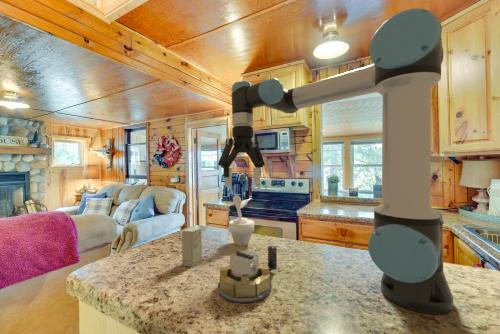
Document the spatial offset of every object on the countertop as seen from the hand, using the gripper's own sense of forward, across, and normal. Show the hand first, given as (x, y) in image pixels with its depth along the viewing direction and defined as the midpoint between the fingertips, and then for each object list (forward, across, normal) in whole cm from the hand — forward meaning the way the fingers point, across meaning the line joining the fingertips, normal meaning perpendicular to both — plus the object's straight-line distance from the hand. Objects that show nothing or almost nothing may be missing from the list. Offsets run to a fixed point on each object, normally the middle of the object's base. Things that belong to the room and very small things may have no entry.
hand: (243, 185), depth 82 cm
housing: (+27, +12, +13) cm, 33 cm away
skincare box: (+28, +14, -13) cm, 33 cm away
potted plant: (+28, -13, -16) cm, 34 cm away
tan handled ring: (+26, +8, +13) cm, 30 cm away
